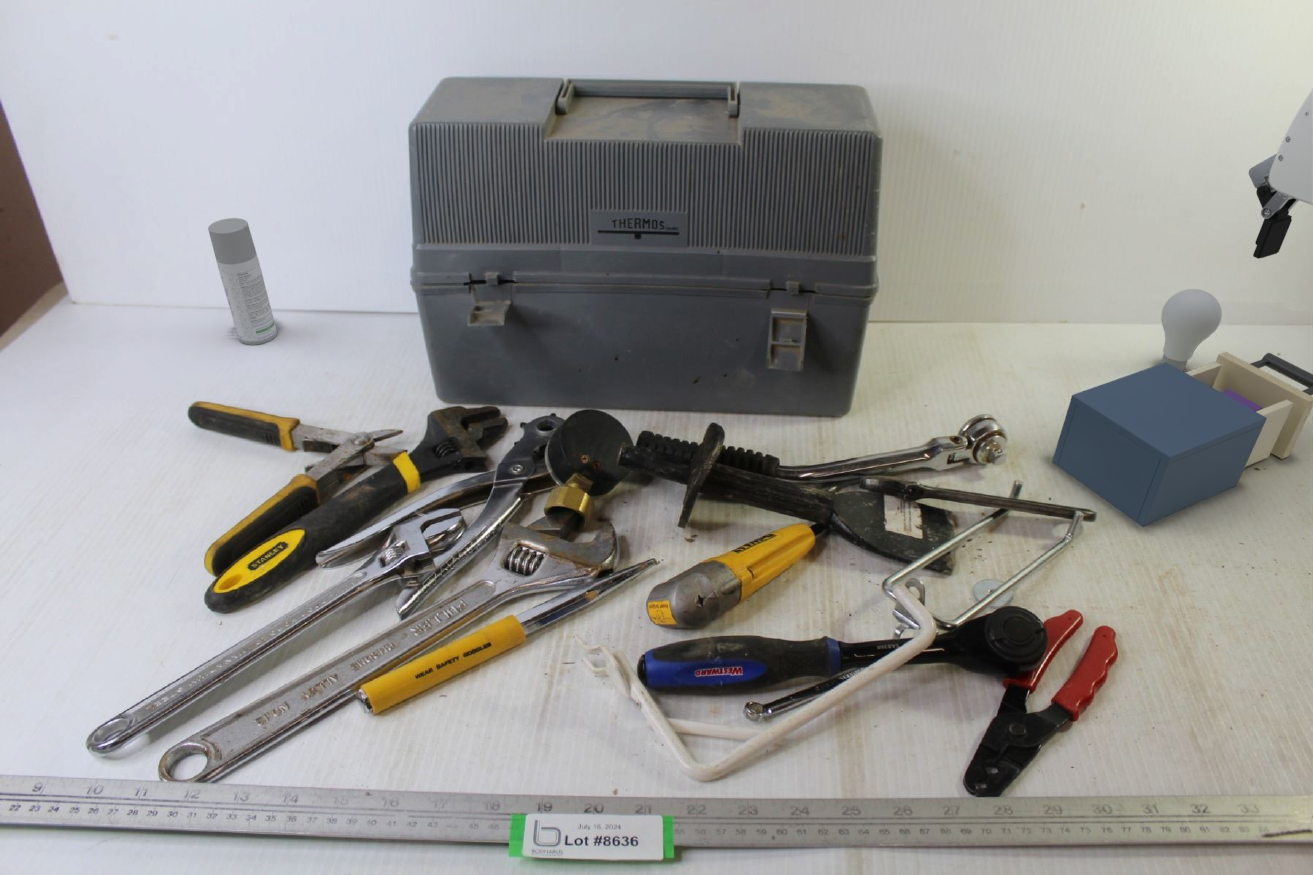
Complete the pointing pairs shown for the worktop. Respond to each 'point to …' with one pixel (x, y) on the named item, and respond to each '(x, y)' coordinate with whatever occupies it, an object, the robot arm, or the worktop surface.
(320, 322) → the worktop surface
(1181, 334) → the lightbulb
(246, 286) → the container
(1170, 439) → the blue drawer cabinet
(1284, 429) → the cream drawer
